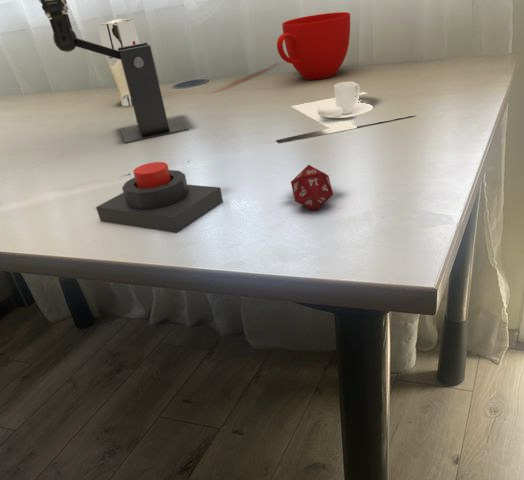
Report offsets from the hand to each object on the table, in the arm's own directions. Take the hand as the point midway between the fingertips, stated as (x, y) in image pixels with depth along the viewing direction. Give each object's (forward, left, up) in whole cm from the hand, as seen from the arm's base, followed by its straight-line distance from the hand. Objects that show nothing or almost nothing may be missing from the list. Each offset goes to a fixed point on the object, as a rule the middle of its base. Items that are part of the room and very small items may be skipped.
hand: (68, 46), depth 75 cm
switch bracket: (+6, +7, -14) cm, 17 cm away
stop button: (+29, -18, -11) cm, 36 cm away
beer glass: (-14, +24, -14) cm, 31 cm away
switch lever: (+2, +3, -3) cm, 4 cm away
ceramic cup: (+14, +46, -14) cm, 50 cm away
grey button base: (+29, -18, -14) cm, 37 cm away
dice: (+45, -13, -15) cm, 49 cm away
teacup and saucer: (+30, +20, -14) cm, 39 cm away
